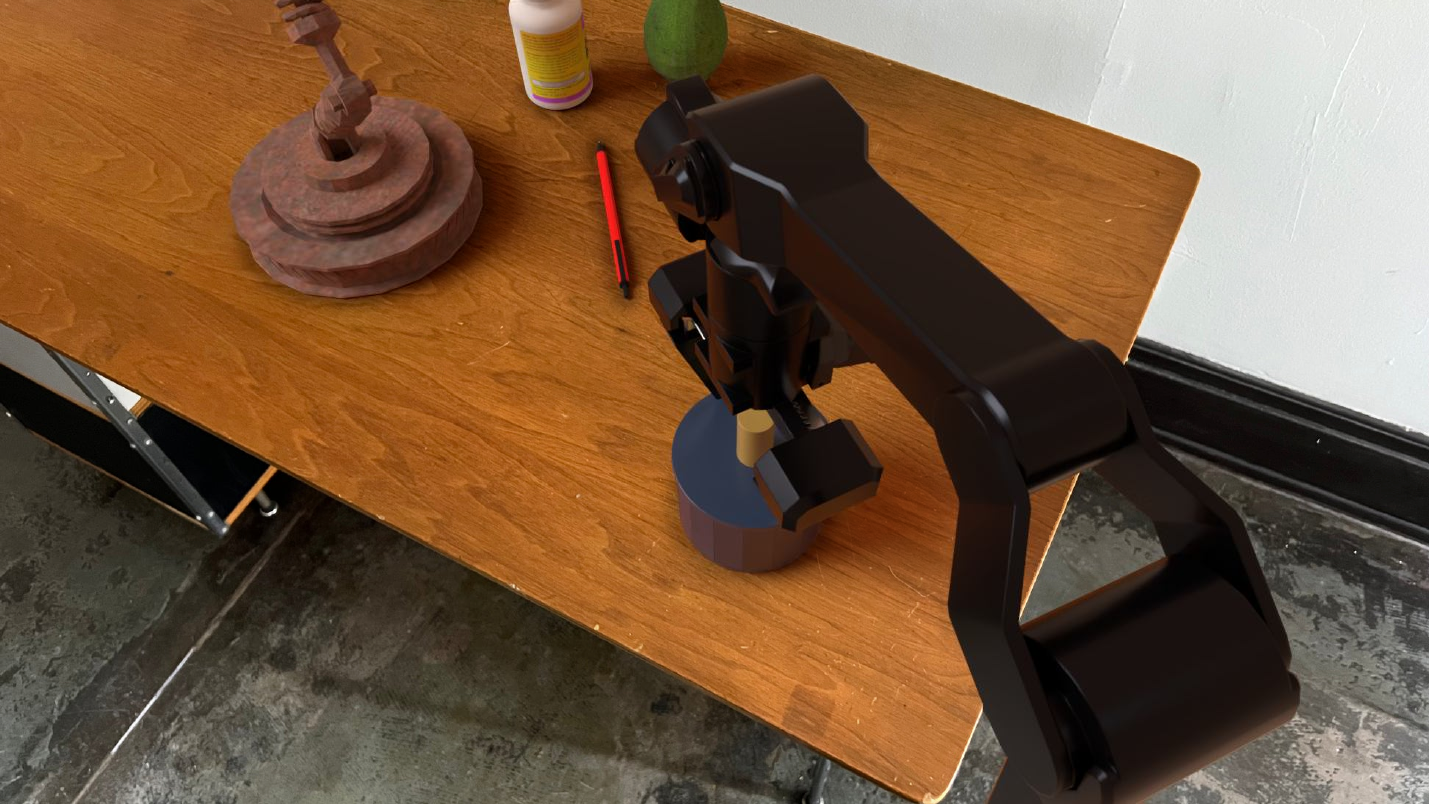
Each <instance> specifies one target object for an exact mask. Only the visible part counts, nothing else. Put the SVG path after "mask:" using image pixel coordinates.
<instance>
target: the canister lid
mask: <svg viewBox="0 0 1429 804" xmlns="http://www.w3.org/2000/svg"><path fill="white" fill-rule="evenodd" d="M791 401H792V400H791ZM812 405H813V406H814V408H815V409H816V411H817V412H818V414H819V416H820V417H821V419H822V420H823V422H824V423H825V425H826V424H828V423H829V422H828V420H827V419H826V417H825V416H824V414H823V413H822V412H821V411H820V410H819V409H818V408H817V407H816V405H814V404H813V403H812ZM795 406H796V405H795ZM797 412H798V411H797ZM800 417H802V416H800ZM803 422H805V421H803ZM807 428H808V427H807ZM784 442H785V440H784V439H783V437H782V435H781V434H780V432H779V430H778V429H777V427H776V426H775V424H774V422H773V421H772V419H771V417H770V416H769V414H768V412H767V411H766V410H753V409H748V410H746V411H744V412H741V413H739V414H737V415H734V416H732V414H731V413H730V411H729V409H728V408H727V406H726V404H725V403H724V401H723V399H719V400H717V399H715V397H714V396H713V395H712V394H711V393H708V394H707V395H705V396H704V397H702V398H701V399H700V400H699V401H697V402H696V403H695V404H694V405H692V406H691V408H689V410H688V411H687V412H686V413H685V414H684V416H683V417H682V419H681V420H680V422H679V424H678V425H677V428H676V430H675V433H674V436H673V439H672V444H671V453H670V454H671V455H670V456H671V457H670V458H671V467H672V472H673V476H674V479H675V481H676V482H675V483H676V485H677V484H678V486H679V488H680V490H681V492H682V493H683V495H684V496H685V498H686V499H687V500H688V501H689V502H690V504H691V505H692V506H693V507H695V508H696V509H697V510H698V511H699V512H700V513H702V514H703V515H705V516H706V517H707V518H709V519H711V520H713V521H715V522H717V523H719V524H722V525H724V526H727V527H731V528H735V529H739V530H747V531H765V530H773V529H777V528H781V527H780V525H779V523H778V522H777V520H776V518H775V517H774V516H773V515H772V513H771V512H770V510H769V508H768V507H767V505H766V503H765V501H764V500H763V498H762V496H761V494H760V493H759V491H758V489H757V487H756V486H755V484H754V482H753V481H752V478H754V477H755V476H754V463H755V462H756V461H757V460H759V459H760V458H761V457H762V456H763V455H764V454H765V453H766V452H767V451H768V450H769V449H771V448H773V447H775V446H778V445H780V444H782V443H784Z"/></svg>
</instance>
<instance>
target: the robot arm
mask: <svg viewBox="0 0 1429 804" xmlns="http://www.w3.org/2000/svg"><path fill="white" fill-rule="evenodd" d="M664 89H665V101H663V102H662V103H660V104H659V105H658V106H656V107H655V109H653V110H652V111H651V112H650V113H649V115H647V117H646V118H645V120H644V121H643V123H642V125H641V126H640V129H639V130H638V133H637V137H636V138H635V139H634V141H633V143H634V144H633V145H634V146H633V147H634V152H635V156H636V159H637V160H638V162H639V164H640V166H641V167H642V169H643V171H644V173H645V175H646V177H647V178H648V179H649V181H650V183H651V185H652V187H653V190H654V194H655V197H656V200H657V202H658V203H659V202H660V203H662V204H663V205H664V207H665V209H666V211H667V212H668V214H669V216H670V217H671V219H672V222H673V223H674V225H675V226H676V228H677V230H678V231H679V233H680V234H681V235H682V237H683V239H684V240H685V241H687V242H688V243H691V244H692V243H693V244H694V243H696V242H697V241H705V244H704V245H705V248H703V249H700V250H698V251H695V252H693V253H690V254H688V255H685V256H682V257H679V258H677V259H673V260H671V261H668V262H666V263H663V264H661V265H659V266H658V267H657V269H656V270H655V271H654V272H653V273H652V275H651V276H650V277H649V279H648V281H647V290H648V291H647V292H648V300H649V303H650V304H651V306H652V307H653V310H654V312H655V313H656V315H657V317H658V318H659V321H660V323H661V325H662V327H663V328H664V331H665V332H666V335H668V337H669V339H670V341H671V342H672V344H673V345H674V348H675V349H676V350H677V351H678V353H679V354H680V356H682V358H683V359H684V360H685V363H687V364H688V365H689V367H690V368H691V369H692V371H693V372H694V373H695V374H696V376H697V377H698V378H699V380H700V382H702V383H703V385H704V386H705V388H706V389H707V390H708V391H709V393H710V394H712V395H713V396H714V397H715V399H717V400H719V399H723V401H724V403H725V404H726V406H727V408H728V409H729V411H730V413H731V414H732V416H734V415H737V414H739V413H741V412H744V411H746V410H748V409H753V410H766V411H767V412H768V414H769V416H770V417H771V419H772V421H773V422H774V424H775V426H776V427H777V429H778V430H779V432H780V434H781V435H782V437H783V439H784V440H785V442H784V443H782V444H780V445H778V446H775V447H773V448H771V449H769V450H768V451H767V452H766V453H765V454H764V455H763V456H762V457H761V458H760V459H759V460H757V461H756V462H755V463H754V476H755V477H754V478H752V481H753V482H754V484H755V486H756V487H757V489H758V491H759V493H760V494H761V496H762V498H763V500H764V501H765V503H766V505H767V507H768V508H769V510H770V512H771V513H772V515H773V516H774V517H775V518H776V520H777V522H778V523H779V525H780V527H781V529H785V530H788V531H791V532H794V533H796V532H798V531H800V530H803V529H805V528H807V527H809V526H811V525H813V524H816V523H818V522H820V521H821V522H823V521H825V520H827V519H829V518H831V517H833V516H835V515H837V514H839V513H841V512H844V511H846V510H848V509H851V508H853V507H855V506H857V505H859V504H861V503H863V502H865V501H868V500H870V499H872V498H874V497H876V496H877V495H878V494H877V492H878V490H879V487H880V483H881V479H882V475H883V473H884V469H885V468H884V466H883V464H882V463H881V460H879V458H878V457H877V455H876V454H875V452H874V450H873V449H872V448H871V446H870V444H868V441H867V440H866V439H865V437H864V435H863V434H862V433H861V431H860V430H859V428H858V427H857V426H856V423H855V422H854V421H853V420H852V419H846V418H842V417H841V418H837V419H835V420H833V421H831V422H828V424H826V425H825V423H824V422H823V420H822V419H821V417H820V416H819V414H818V412H817V411H816V409H815V408H814V406H815V405H814V404H813V402H811V400H810V399H809V397H808V395H807V394H806V392H805V391H804V389H803V387H805V386H808V387H809V389H810V390H811V391H814V390H817V389H819V388H821V387H825V386H826V385H829V384H831V383H832V381H833V374H834V373H833V372H834V369H842V368H848V367H852V366H858V365H863V364H869V365H873V364H875V366H876V367H877V368H878V369H879V370H880V371H881V372H882V373H883V374H884V376H885V377H886V378H887V380H889V381H890V383H891V384H892V385H893V386H894V387H895V388H896V389H897V390H898V391H899V393H900V394H901V395H902V396H903V397H904V398H905V399H906V401H907V402H908V403H909V404H910V405H911V406H912V407H913V408H914V410H915V411H916V412H917V413H918V414H919V415H920V416H921V417H922V419H923V420H924V421H925V422H926V424H928V425H929V427H930V428H931V429H932V430H933V433H934V436H935V439H936V443H937V446H938V451H939V453H940V455H941V458H942V461H943V463H944V465H945V468H946V470H947V472H948V475H949V478H950V481H951V484H952V487H953V488H954V489H953V490H954V491H955V492H954V493H955V494H956V496H957V499H958V511H957V517H956V518H957V519H956V525H955V526H956V528H955V537H954V542H953V543H954V544H953V551H952V561H951V569H950V579H949V587H948V595H947V603H946V604H947V605H946V606H947V612H948V618H949V621H950V623H951V626H952V628H953V631H954V634H955V637H956V639H957V642H958V644H959V646H960V649H961V651H962V655H963V657H964V659H965V662H966V664H967V665H966V666H967V668H968V670H969V673H970V675H971V678H972V681H973V683H974V686H975V688H976V691H977V693H978V696H979V699H980V701H981V703H982V712H983V714H984V715H985V717H986V719H987V720H988V722H989V725H990V727H991V729H992V731H993V733H994V735H995V737H996V740H997V742H998V744H999V746H1000V748H1001V750H1002V751H1003V753H1004V755H1005V756H1006V757H1005V758H1004V762H1003V764H1002V766H1001V768H1000V770H999V773H998V774H997V777H996V780H995V781H994V784H993V786H992V788H991V791H990V793H989V795H988V797H987V799H986V802H985V804H1146V803H1147V801H1148V800H1149V799H1150V798H1151V797H1153V796H1155V795H1156V794H1157V795H1158V793H1161V792H1162V791H1164V790H1166V789H1168V788H1170V787H1172V786H1173V785H1175V784H1177V783H1179V782H1181V781H1183V780H1185V779H1186V778H1188V777H1190V776H1192V775H1194V774H1197V773H1198V772H1200V771H1201V770H1204V769H1205V768H1207V767H1209V766H1210V765H1213V764H1214V763H1217V762H1218V761H1221V760H1222V759H1224V758H1225V757H1228V756H1229V755H1231V754H1233V753H1235V752H1237V751H1240V749H1243V748H1245V747H1246V746H1248V745H1250V744H1252V743H1253V742H1256V741H1257V740H1260V739H1261V738H1263V737H1266V735H1268V734H1271V733H1272V732H1274V731H1276V730H1278V729H1280V728H1281V727H1283V726H1285V725H1287V724H1288V723H1289V722H1291V721H1292V720H1293V719H1294V718H1295V716H1296V713H1297V711H1298V709H1299V707H1300V703H1301V686H1302V685H1301V680H1300V678H1299V676H1298V675H1297V674H1296V673H1294V672H1291V671H1290V669H1291V664H1292V659H1293V654H1292V650H1291V645H1290V641H1289V636H1288V633H1287V631H1286V629H1285V626H1284V623H1283V620H1282V618H1281V615H1280V613H1279V610H1278V608H1277V605H1276V602H1275V599H1274V597H1273V595H1272V593H1271V590H1270V587H1269V585H1268V582H1267V579H1266V577H1265V574H1264V572H1263V569H1262V567H1261V566H1262V565H1261V564H1260V561H1259V559H1258V556H1257V554H1256V550H1255V549H1254V546H1253V544H1252V540H1251V538H1250V535H1249V533H1248V530H1247V527H1246V525H1245V522H1244V520H1243V519H1242V517H1241V516H1240V514H1239V513H1238V511H1237V510H1236V509H1235V508H1234V507H1232V505H1230V504H1229V503H1228V502H1227V501H1226V500H1225V499H1223V497H1221V496H1220V495H1219V494H1218V493H1217V492H1215V491H1214V489H1212V488H1211V487H1210V486H1209V485H1207V484H1206V483H1205V482H1204V481H1203V480H1202V479H1200V477H1198V476H1197V475H1196V474H1195V473H1194V472H1193V471H1191V470H1190V469H1189V468H1188V467H1187V466H1186V465H1185V464H1184V463H1182V462H1181V461H1180V460H1179V459H1178V458H1176V457H1175V455H1174V454H1172V453H1171V452H1170V451H1169V450H1167V448H1165V447H1164V446H1163V445H1162V444H1161V443H1159V441H1158V439H1157V438H1156V434H1155V432H1154V430H1153V428H1152V425H1151V424H1152V423H1150V420H1149V419H1150V418H1149V417H1148V414H1147V412H1146V409H1145V407H1144V404H1143V401H1142V399H1141V397H1140V394H1139V391H1138V388H1137V385H1136V384H1135V382H1134V380H1133V378H1132V376H1131V374H1130V372H1129V370H1128V369H1127V366H1126V365H1125V364H1124V363H1123V362H1122V361H1121V359H1120V358H1119V357H1118V356H1117V355H1116V353H1115V352H1114V351H1113V350H1112V349H1111V348H1110V347H1108V346H1106V345H1105V344H1103V343H1101V342H1100V341H1098V340H1096V339H1095V338H1083V337H1082V338H1076V339H1073V338H1071V337H1070V336H1068V335H1067V334H1066V333H1064V331H1062V330H1061V329H1060V328H1059V327H1058V326H1057V325H1055V324H1054V323H1053V322H1052V321H1050V319H1049V318H1047V317H1046V316H1044V314H1042V313H1041V312H1040V311H1039V310H1038V309H1036V308H1035V307H1034V306H1033V305H1032V304H1031V303H1029V302H1028V301H1027V299H1025V298H1024V297H1022V296H1021V295H1020V294H1019V293H1018V292H1017V291H1015V290H1014V289H1013V288H1012V287H1011V286H1009V284H1007V283H1006V282H1005V281H1004V280H1003V279H1001V278H1000V277H999V276H998V275H997V274H996V273H995V272H994V271H992V270H991V269H990V268H989V267H988V266H987V265H985V264H984V263H983V262H982V261H981V260H979V259H978V258H977V256H976V257H975V256H974V255H973V254H972V253H971V252H970V251H969V250H967V248H965V247H964V246H963V245H962V244H960V242H958V241H957V240H956V239H955V238H954V237H952V236H951V235H950V234H949V233H948V232H947V231H945V230H944V229H943V228H942V227H941V226H939V224H937V223H936V222H935V221H934V220H932V219H931V218H930V217H929V216H928V215H927V214H925V212H924V211H922V210H921V209H920V208H918V207H917V205H915V204H914V203H912V202H911V201H910V200H909V199H908V198H906V197H905V196H904V195H903V194H902V193H901V192H900V191H898V190H897V189H896V188H895V187H894V186H893V185H891V184H890V183H889V182H888V181H887V180H886V179H885V178H884V177H883V176H882V175H881V173H880V172H879V171H878V170H877V169H876V168H875V167H874V165H873V164H872V163H871V162H870V127H869V124H868V122H867V120H865V118H864V117H863V116H862V115H861V114H860V113H859V112H858V111H857V110H856V108H855V107H854V106H853V105H852V103H851V102H850V100H849V99H847V98H846V97H845V96H844V95H843V94H842V92H840V91H839V90H838V88H836V86H835V85H834V84H833V83H832V82H830V81H829V80H828V79H827V78H825V77H824V76H821V75H819V74H818V73H810V74H807V75H803V76H800V77H797V78H794V79H790V80H788V81H785V82H781V83H777V84H774V85H771V86H768V87H764V88H762V89H758V90H755V91H751V92H748V93H745V94H742V95H739V96H736V97H733V98H730V99H726V100H725V99H724V98H722V97H721V96H719V94H718V95H717V94H716V93H714V92H712V91H711V89H710V87H709V86H708V84H707V82H706V81H704V80H703V78H702V77H701V75H700V74H698V75H695V76H691V77H688V78H685V79H681V80H678V81H675V82H668V83H666V84H665V85H664ZM791 400H792V401H791ZM812 404H813V405H814V406H813V405H812ZM795 405H796V406H795ZM797 411H798V412H797ZM800 416H802V417H800ZM803 421H805V422H803ZM807 427H808V428H807ZM1090 469H1091V470H1093V472H1095V473H1096V474H1097V475H1098V476H1100V478H1102V479H1103V480H1104V481H1105V482H1106V483H1108V484H1109V486H1111V487H1112V488H1113V489H1114V490H1115V491H1116V492H1118V493H1119V494H1120V495H1121V496H1122V497H1124V499H1126V500H1127V501H1128V502H1130V503H1131V505H1133V506H1134V507H1135V508H1136V509H1138V510H1139V511H1140V512H1141V513H1142V514H1143V515H1144V516H1146V517H1147V518H1148V519H1149V520H1150V521H1151V523H1152V524H1153V527H1154V530H1155V533H1156V535H1157V538H1158V540H1159V543H1160V545H1161V548H1162V551H1163V554H1164V557H1162V558H1160V559H1157V560H1156V561H1154V562H1151V563H1149V564H1147V565H1146V566H1143V567H1141V568H1138V569H1137V570H1135V571H1132V572H1130V573H1128V574H1126V575H1124V576H1122V577H1120V578H1117V579H1115V580H1114V581H1111V582H1109V583H1107V584H1105V585H1103V586H1101V587H1098V588H1096V589H1094V590H1092V591H1090V592H1088V593H1086V594H1084V595H1082V596H1080V597H1079V596H1078V597H1077V598H1075V599H1073V600H1071V601H1069V602H1066V603H1065V604H1063V605H1060V606H1058V607H1055V608H1054V609H1052V610H1050V611H1048V612H1045V613H1043V614H1041V615H1040V616H1037V617H1034V618H1033V619H1031V620H1029V621H1027V622H1025V623H1022V624H1020V616H1021V607H1022V599H1023V591H1024V580H1025V570H1026V561H1027V552H1028V545H1029V535H1030V534H1029V533H1030V526H1031V525H1030V524H1031V516H1032V504H1031V496H1030V495H1033V494H1035V493H1037V492H1039V491H1042V490H1044V489H1046V488H1049V487H1051V486H1053V485H1055V484H1058V483H1060V482H1063V481H1065V480H1067V479H1069V478H1071V477H1074V476H1077V475H1078V474H1081V473H1082V472H1085V471H1087V470H1090Z"/></svg>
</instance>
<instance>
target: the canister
mask: <svg viewBox="0 0 1429 804" xmlns="http://www.w3.org/2000/svg"><path fill="white" fill-rule="evenodd" d="M676 487H677V488H676V489H677V498H678V499H677V500H678V510H679V520H680V522H681V524H682V528H683V530H684V533H685V535H686V536H687V538H688V540H689V542H690V543H691V544H692V545H693V546H694V548H695V549H696V550H697V551H698V552H699V553H700V554H701V555H702V556H703V557H705V558H706V559H707V560H709V561H710V562H712V563H713V564H715V565H718V566H719V567H722V568H725V569H727V570H731V571H734V572H739V573H741V572H742V573H747V574H748V573H749V574H750V573H751V574H752V573H753V574H755V573H758V574H759V573H765V572H770V571H774V570H778V569H780V568H783V567H786V566H787V565H789V564H791V563H792V562H794V561H795V560H797V559H798V558H800V557H801V556H802V555H803V554H804V553H805V552H807V550H808V549H809V548H810V546H811V545H812V544H813V542H814V541H815V539H816V538H817V536H818V534H819V531H820V528H821V525H822V521H820V522H818V523H816V524H813V525H811V526H809V527H807V528H805V529H803V530H800V531H798V532H796V533H794V532H791V531H788V530H785V529H781V528H777V529H773V530H765V531H747V530H739V529H735V528H731V527H727V526H724V525H722V524H719V523H717V522H715V521H713V520H711V519H709V518H707V517H706V516H705V515H703V514H702V513H700V512H699V511H698V510H697V509H696V508H695V507H693V506H692V505H691V504H690V502H689V501H688V500H687V499H686V498H685V496H684V495H683V493H682V492H681V490H680V488H679V486H678V484H677V483H676Z"/></svg>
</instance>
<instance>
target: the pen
mask: <svg viewBox="0 0 1429 804" xmlns="http://www.w3.org/2000/svg"><path fill="white" fill-rule="evenodd" d="M596 161H597V165H598V171H599V176H600V183H601V189H602V194H603V201H604V205H605V206H604V207H605V211H606V218H607V223H608V229H609V235H610V241H611V247H612V252H613V258H614V263H615V264H614V265H615V269H616V275H617V280H618V285H619V289H622V291H623V292H622V293H623V297H624V299H625V300H627V299H629V298H630V295H629V290H628V288H630V286H631V283H630V278H629V272H628V267H627V262H626V256H625V255H626V254H625V250H624V244H623V240H622V239H623V238H622V234H621V229H620V228H621V227H620V223H619V217H618V213H617V212H618V211H617V206H616V202H615V201H616V200H615V196H614V191H613V190H614V189H613V183H612V179H611V173H610V168H609V163H608V157H607V152H606V151H605V149H604V147H603V145H602V143H601V141H598V142H597V148H596Z"/></svg>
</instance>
